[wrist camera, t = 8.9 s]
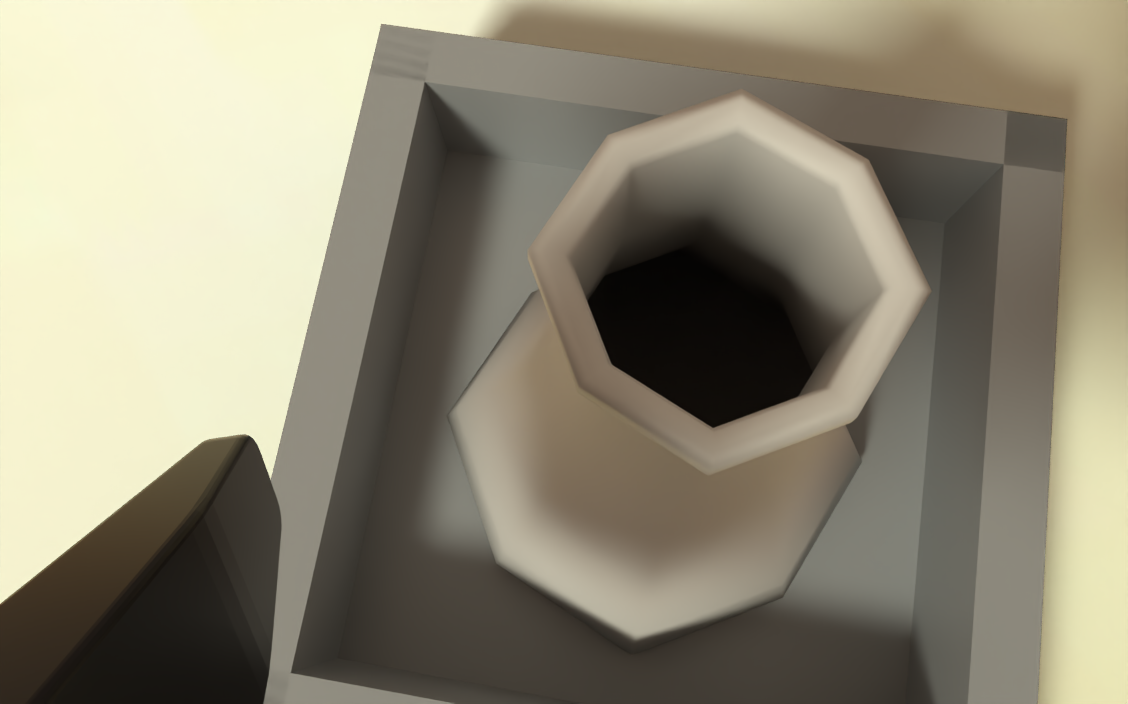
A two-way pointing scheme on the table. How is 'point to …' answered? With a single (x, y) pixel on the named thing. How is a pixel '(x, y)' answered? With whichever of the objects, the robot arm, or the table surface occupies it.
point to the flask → (688, 370)
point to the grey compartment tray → (505, 280)
